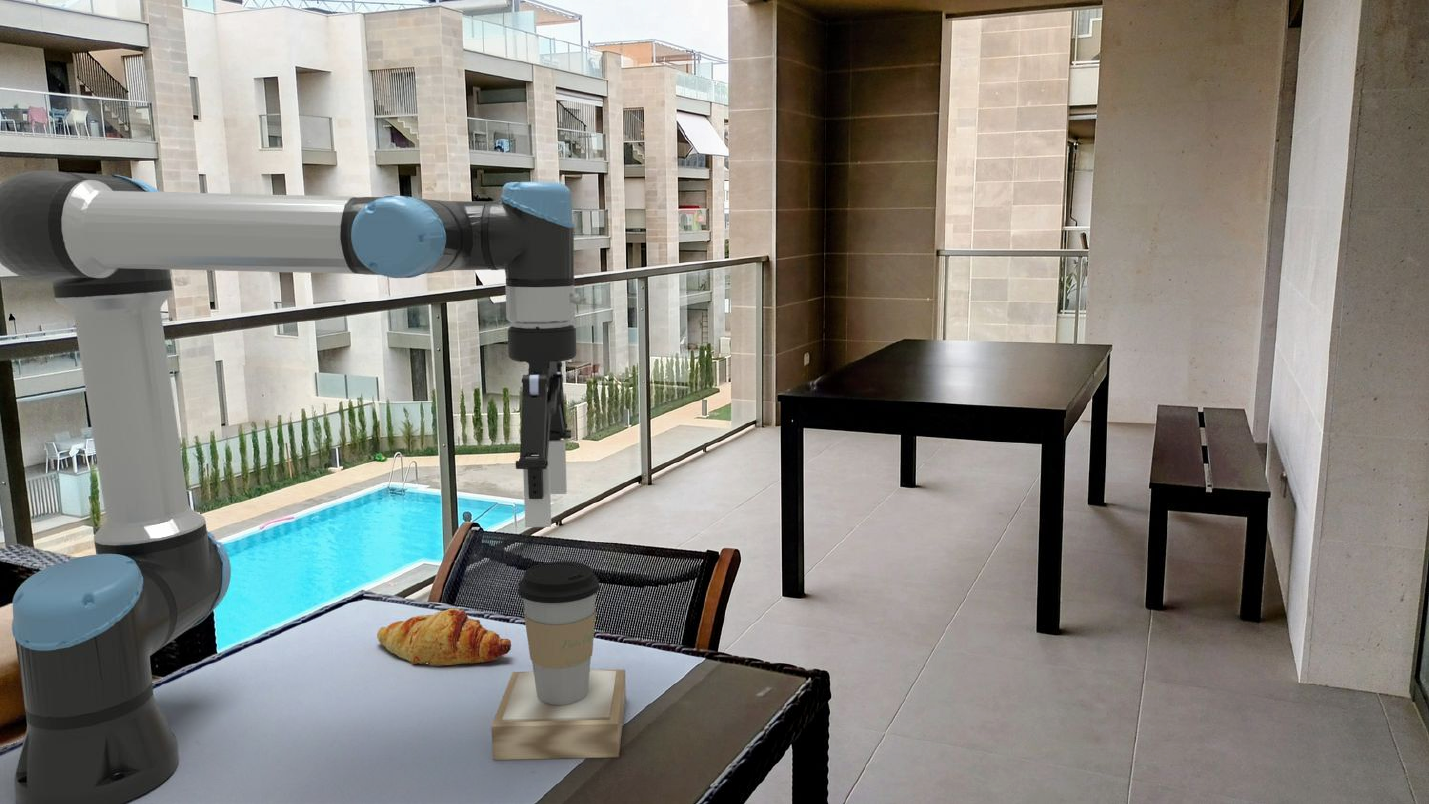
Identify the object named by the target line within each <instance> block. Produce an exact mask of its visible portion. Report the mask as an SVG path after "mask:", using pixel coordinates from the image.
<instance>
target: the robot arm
mask: <svg viewBox="0 0 1429 804" xmlns="http://www.w3.org/2000/svg"><path fill="white" fill-rule="evenodd" d="M501 192H502V193H501V194H502V195H501V196H500V200H499V199H497V200H489V201H478V200H477V201H476V200H475V201H469V200H468V201H466V200H439V199H426V198H425V199H423V198H422V199H421V198H414V197H412V196H404V195H387V196H383V197H382V196H380V197H379V196H358V197H357V196H350V195H348V196H343V195H306V194H305V195H303V194H302V195H299V194H261V193H259V194H258V193H254V194H253V193H215V192H214V193H212V192H211V193H209V192H208V193H207V192H169V191H160V190H158V188H156V187H154V186H152V185H151V184H149V183H147V182H144V181H143V180H138V179H135V178H130V177H127V176H122V175H120V174H106V173H102V174H100V173H99V174H98V173H87V172H86V173H85V172H84V173H83V172H67V171H58V170H41V169H40V170H34V171H26V172H22V173H18V174H16V175H13V176H10V177H8V178H7V179H5V180H4V181H2V182H1V183H0V264H1V265H2V266H3V267H4V268H6V269H7V270H9V271H10V272H11V273H13V274H15V275H17V276H19V277H21V278H23V279H26V280H29V281H32V282H35V283H43V284H47V285H48V284H49V285H50V284H51V285H52V290H53V296H54V299H55V300H54V301H56V302H57V303H58V304H59V305H61V306H62V307H64V308H65V309H66V310H68V311H70V312H71V314H72V315H73V318H74V324H75V332H76V338H77V345H78V351H79V356H80V357H79V358H80V363H81V371H82V375H83V381H84V388H85V395H86V402H87V406H88V407H87V408H88V413H89V414H88V415H89V420H90V426H91V432H92V437H93V438H92V439H93V444H94V450H95V456H96V463H97V469H98V477H99V480H100V481H99V482H100V487H101V488H100V489H101V495H102V501H103V502H102V503H103V507H104V515H105V522H104V523H103V525H102V526H101V527H100V528H99V529H98V530H97V531H96V532H95V534H94V536H93V543H94V549H95V554H90V555H84V556H78V557H74V558H70V560H69V561H67V562H57V563H54V564H52V565H50V566H48V567H45V568H42V569H41V570H39V571H37V572H36V573H33V574H32V575H31V576H29V577H27V579H26V580H24V581H23V582H22V583H21V584H20V586H19V587H18V588H17V590H16V591H15V593H14V595H13V598H12V623H11V630H12V631H11V632H12V636H13V638H14V640H15V648H16V654H17V661H18V669H19V675H20V681H21V690H22V697H23V702H24V710H25V717H26V724H27V725H26V731H25V733H24V734H25V735H24V739H23V743H22V747H21V750H20V753H19V754H20V755H19V758H18V763H17V766H16V770H15V774H14V779H13V780H14V782H13V785H14V792H15V800H16V803H17V804H125V803H127V802H129V801H132V800H134V799H137V798H138V797H141V796H143V795H144V794H148V793H149V792H150V791H152V790H154V789H155V788H157V787H158V786H160V785H161V784H163V783H164V782H166V780H167V779H168V778H169V777H170V776H171V775H172V774H174V772H175V771H176V769H177V767H178V765H179V762H180V757H179V748H178V747H179V746H178V741H177V738H176V736H175V734H174V732H173V731H172V729H171V727H170V724H169V723H168V721H167V719H166V717H165V714H164V713H163V712H162V710H161V708H160V706H159V704H158V703H157V700H156V699H155V694H154V686H153V677H152V668H151V656H152V655H153V654H155V653H157V651H159V650H160V649H162V648H163V647H165V646H167V645H168V644H169V643H171V642H172V641H173V640H175V639H176V638H178V637H179V636H181V635H182V634H183V633H185V632H186V631H188V630H190V629H193V628H194V627H196V626H198V625H199V624H201V623H202V622H203V621H205V619H207V618H208V617H209V615H211V613H212V612H213V611H214V610H215V609H217V607H218V606H219V605H220V604H221V602H222V601H223V599H224V598H225V596H226V594H227V592H228V589H229V587H230V583H231V579H232V578H231V577H232V575H231V574H232V566H231V562H230V557H229V554H228V552H227V550H226V548H225V546H224V545H223V543H222V542H220V541H217V540H216V539H215V535H214V534H212V533H211V532H210V531H208V529H207V524H206V519H205V516H203V515H202V514H200V513H199V512H198V511H196V510H194V509H192V508H191V506H190V504H189V497H188V490H187V485H186V478H185V471H184V470H185V469H184V465H183V458H182V457H183V456H182V455H183V454H182V448H181V442H180V436H179V429H178V422H177V416H176V415H177V414H176V408H175V407H176V406H175V400H174V394H173V387H172V380H171V379H172V378H171V372H170V367H169V366H170V365H169V360H168V359H169V358H168V351H167V345H166V339H165V333H164V323H163V318H162V309H161V308H162V307H163V305H164V303H166V301H168V299H169V298H170V297H171V296H172V295H173V294H174V293H173V283H172V276H171V270H175V271H180V270H181V271H182V270H183V271H184V270H185V271H222V272H263V273H266V272H268V273H302V274H303V273H308V274H311V273H312V274H313V273H314V274H351V275H365V276H366V275H367V276H368V275H369V276H383V277H387V278H391V279H411V278H416V277H418V276H419V277H420V276H421V275H425V274H434V273H442V272H450V271H485V270H487V271H488V270H491V271H501V270H502V271H503V270H504V273H505V310H506V311H505V312H506V315H505V317H506V320H507V321H508V322H509V323H511V324H512V325H510V326H509V327H508V329H507V351H508V352H507V353H508V357H509V359H510V360H511V361H515V362H517V363H518V362H519V363H521V362H522V363H523V362H526V363H528V373H527V374H523V375H522V378H521V383H522V403H521V404H522V406H521V408H522V409H521V423H520V424H521V426H520V427H521V428H520V444H519V445H520V447H519V448H520V449H519V459H518V460H515V469H516V470H523V471H522V473H523V474H522V475H523V497H524V498H523V499H524V501H523V502H524V525H525V526H524V527H525V528H551V527H552V504H551V502H552V501H551V500H552V499H551V498H552V497H551V495H567V493H568V491H567V489H568V487H567V459H566V458H567V457H566V456H567V455H566V454H567V453H566V452H567V451H566V439H568V440H571V439H572V429H568V423H567V413H566V406H565V404H566V403H565V396H564V395H565V393H564V375H563V371H562V369H563V362H566V361H567V362H568V361H571V360H573V359H574V358H576V356H577V329H576V328H575V326H574V325H573V324H570V323H571V322H573V321H574V320H575V319H576V305H575V303H579V302H580V301H581V296H580V294H579V293H574V291H575V223H574V219H573V206H572V205H573V204H572V194H571V191H570V188H569V187H568V186H567V185H565V184H563V183H561V182H553V181H520V182H518V181H515V182H513V181H511V182H506V183H505V184H504V185H503V187H502V191H501Z"/></svg>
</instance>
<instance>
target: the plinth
mask: <svg viewBox="0 0 1429 804" xmlns="http://www.w3.org/2000/svg"><path fill="white" fill-rule="evenodd" d="M626 691H627V690H626V669H590V672H589V684H588V693H587V695H586V696H585V697H584V698H583V699H582V700H580V701H578V702H575V703H572V704H568V705H551V704H547V703H544V702H542V701H541V700H539V698H538V697H537V692H536V685H535V678H534V671H533V670H532V671H512V672H511V675H510V677H509V680H508V682H507V686H506V688H505V690H504V693H503V696H502V698H501V701H500V704H499V706H498V709H497V711H496V714H495V717H494V719H493V722H492V724H491V742H492V743H491V745H492V746H491V747H492V760H494V761H500V760H503V761H505V760H545V759H546V760H547V759H549V760H550V759H551V760H552V759H590V758H591V759H592V758H595V759H597V758H599V759H600V758H619V757H620V749H621V743H622V742H621V741H622V740H621V739H622V734H623V725H624V717H625V709H626V700H627V697H626V696H627V693H626Z"/></svg>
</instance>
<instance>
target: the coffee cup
mask: <svg viewBox="0 0 1429 804" xmlns="http://www.w3.org/2000/svg"><path fill="white" fill-rule="evenodd" d="M593 571H594V570H593V568H592V567H591V566H590V565H588V564H585V563H581V562H575V561H569V560H568V561H564V560H562V561H559V560H558V561H550V562H549V561H548V562H544V563H539V564H536V565H533V566H531V567H528V569H526V570H525V571H524V573H523V578H522V579H521V580H520V581H519V583H518V585H517V586H518V588H517V594H518V596H520V597H521V598H522V599H523V606H524V607H523V608H524V612H523V616H524V624H525V631H526V636H527V637H526V638H527V644H528V651H529V657H530V660H531V663H532V669H533V670H532V671H534V678H535V685H536V692H537V697H538V698H539V700H541V701H542V702H544V703H547V704H551V705H568V704H572V703H575V702H578V701H580V700H582V699H583V698H584V697H585V696H586V695H587V693H588V684H589V672H590V670H591V659H592V656H593V652H594V651H593V650H594V637H595V625H596V615H597V612H596V611H597V610H596V596H597V593H598V592H599V591H600V589H601V585H600V584H599V583H600V581H599V578H598V577H597V576H596V575H595V574H594V572H593Z"/></svg>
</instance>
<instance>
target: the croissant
mask: <svg viewBox="0 0 1429 804" xmlns="http://www.w3.org/2000/svg"><path fill="white" fill-rule="evenodd" d="M467 614H468V613H466V612H465V611H464V610H462V609H459V608H448V609H445V610H440V611H437V612H435V613H434V614H424V615H416V616H412V617H410V618H408V619H406V620H404V621H403V620H399V621H395V622H392V623H390V624H389V625H387V626H383V627H380V628H379V630H378V631H377V634H376V638H377V640H378V642H379V643H380V644H381V645H382V646H383V647H385V648H386V650H387V651H388V652H390V653H391V654H394V655H396V656H398V657H399V658H400V659H404V660H406V661H408V662H410V663H411V664H413V665H416V664H418V663H419V665H423V663H428V664H431V665H430V666H433V665H447V666H450V665H451V666H453V665H454V666H455V665H459V664H468V663H469V664H480V662H481V663H485V662H486V663H487V662H493V661H494V660H497V659H499V658H500V657H502V656H505V655H507V654H509V652H510V651H511V649H512V648H511V647H512V644H511V643H512V641H511V640H510V639H509V638H501V637H500V635H499V634H498V633H497V632H496V631H495V632H494V631H492V630H488V629H486V628H485V627H483V625H482V624H481V621H480V620H479V619H474V618H469V617H468V615H467ZM428 664H427V665H428Z"/></svg>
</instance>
